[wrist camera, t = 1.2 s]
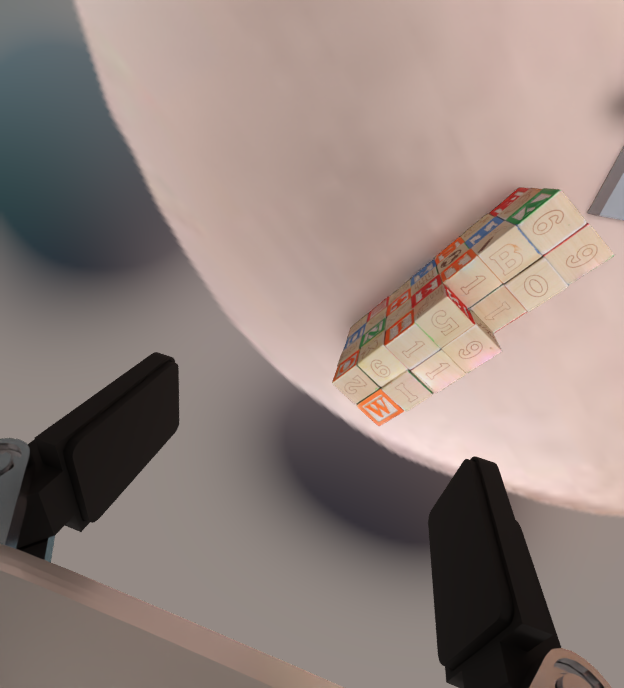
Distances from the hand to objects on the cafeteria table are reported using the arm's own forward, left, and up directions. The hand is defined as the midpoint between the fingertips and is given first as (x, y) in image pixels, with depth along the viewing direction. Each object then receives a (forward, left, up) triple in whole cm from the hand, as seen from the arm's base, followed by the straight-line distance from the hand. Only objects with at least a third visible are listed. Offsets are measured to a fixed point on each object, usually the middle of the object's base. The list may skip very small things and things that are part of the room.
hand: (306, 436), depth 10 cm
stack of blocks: (+2, +8, -28) cm, 30 cm away
